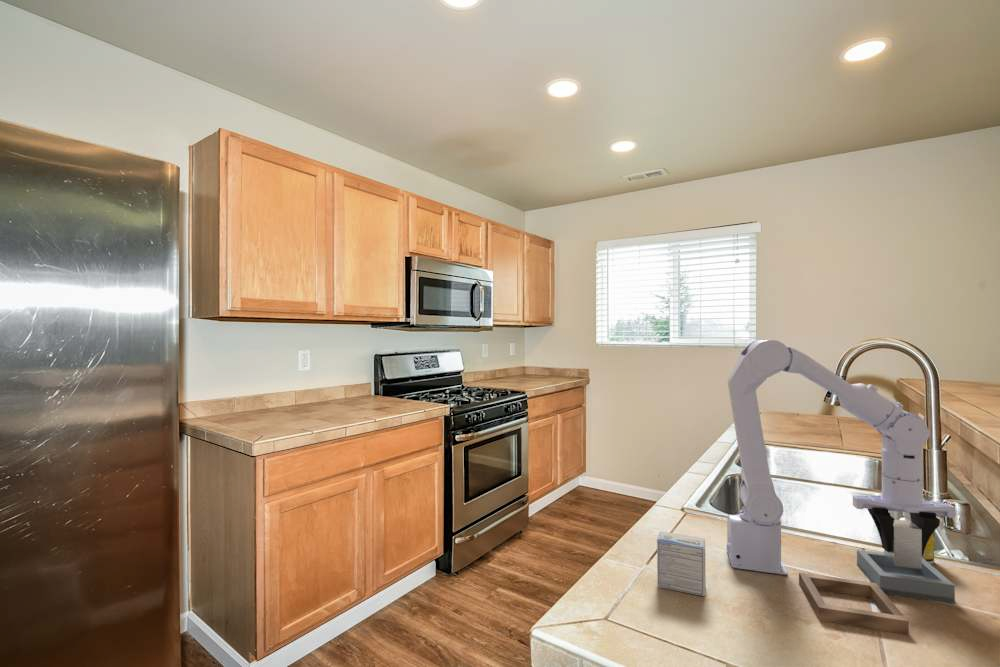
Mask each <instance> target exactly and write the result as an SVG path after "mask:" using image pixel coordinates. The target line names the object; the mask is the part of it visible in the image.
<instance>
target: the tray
mask: <svg viewBox="0 0 1000 667" xmlns="http://www.w3.org/2000/svg"><path fill="white" fill-rule="evenodd" d="M856 566H857V567H858V568H859V570H861V572H863V574H864V575H865V577H866V578H867V579H868V580H869V582H872V583H876V584H877V585H878V586H879V587H880V589H881V590H882V591H883V592H884V593H885V594H886V595H894V596H900V597H907V598H908V597H909V598H916V599H923V600H931V601H936V602H944V603H950V604H956V601H955V600H956V599H955V598H956V594H955V591H956V590H955V589H956V586H955V584H954V583H953V582H951V581H950V579H948V578H947V577H945V575H943V574H942V573H941V572H940V571H939V570H938V569H937V568H935V567H934V566H933V564H929V563H928V562H927V561H926V560H925V559H923V558H922V569H916V568H908V567H900V566H894V565H893V564H892V563H891V562H890V561H889V560H888V559H887V558H886V557H885V556H884V552H878V551H869V550H861V549H857V550H856Z"/></svg>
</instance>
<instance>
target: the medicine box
mask: <svg viewBox="0 0 1000 667" xmlns="http://www.w3.org/2000/svg"><path fill="white" fill-rule="evenodd" d="M656 546H657V548H656V556H657V557H656V558H657V559H656V561H657V562H656V564H657V566H656V568H657V570H656V571H657V573H656V574H657V575H656V576H657V578H656V579H657V580H656V583H657V584H656V585H657V588H660V589H665V590H671V591H676V592H681V593H686V594H692V595H695V596H701V597H706V583H707V581H706V539H705V538H704V537H700V536H694V535H687V534H682V533H675V532H668V531H663V530H662V531H659V534H658V537H657V539H656Z"/></svg>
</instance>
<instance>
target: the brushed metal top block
mask: <svg viewBox="0 0 1000 667" xmlns="http://www.w3.org/2000/svg"><path fill="white" fill-rule="evenodd" d="M883 549H884V548H883ZM883 551H884V552H883V553H884V556H885V557H886V558H887V559H888V560H889V561H890V562H891V563H892V564H893V565H894V566H900V567H908V568H916V569H922V529H920V528H919V527H918V526H916V525H915V524H914V523H912V522H911V521H905V520H899V519H895V518H894V523H893V529H892V552H887V551H886V550H885V549H884V550H883Z"/></svg>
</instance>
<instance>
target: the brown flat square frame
mask: <svg viewBox="0 0 1000 667" xmlns="http://www.w3.org/2000/svg"><path fill="white" fill-rule="evenodd" d="M798 584H799V586H800V588H801V591H802V592H803V593H804V595H805V597H806V599H807V601H808V603H809V604H810V606H811V608H812V610H813V611H814V613H815V615H816V617H817V619H818V620H819V621H824V622H830V623H836V624H841V625H848V626H853V627H854V626H855V627H860V628H867V629H870V630H871V629H874V630H877V631H884V632H890V633H897V634H904V635H910V632H909V631H910V630H909V628H910V626H909V624H910V623H909V620H908V618H906V617H905V615H904V614H903V613H902V612H901V610H900V609H899V608H898V607H897V606H896V604H894V603H893V601H892V600H891V599H890V598H889V597H888V595H887V593H884V592H883V591H882V590H881V589H880V587H879V586H878V585H877V584H876V583H872V582H871V581H863V580H856V579H849V578H843V577H842V578H841V577H834V576H829V575H828V576H827V575H820V574H815V573H814V574H811V573H807V572H806V573H805V572H798ZM819 591H825V592H832V593H840V594H846V595H854V596H859V597H865V598H870V599H871V600H872V602H873V603H874V604H875V606H876V607H877V608H878V609H879V611H880V612H878V611H871V610H865V609H859V608H851V607H845V606H839V605H832V604H827V603H826V602H825V600H824V599H823V597H822V596H821V594H820V592H819Z"/></svg>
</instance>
